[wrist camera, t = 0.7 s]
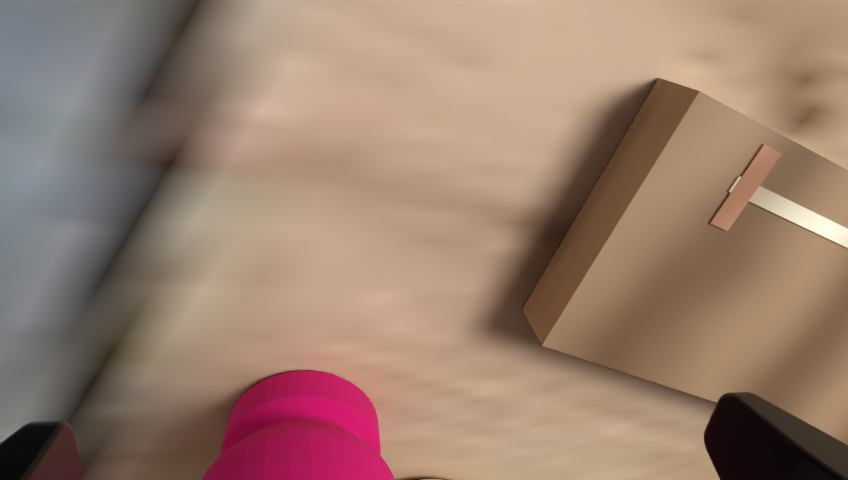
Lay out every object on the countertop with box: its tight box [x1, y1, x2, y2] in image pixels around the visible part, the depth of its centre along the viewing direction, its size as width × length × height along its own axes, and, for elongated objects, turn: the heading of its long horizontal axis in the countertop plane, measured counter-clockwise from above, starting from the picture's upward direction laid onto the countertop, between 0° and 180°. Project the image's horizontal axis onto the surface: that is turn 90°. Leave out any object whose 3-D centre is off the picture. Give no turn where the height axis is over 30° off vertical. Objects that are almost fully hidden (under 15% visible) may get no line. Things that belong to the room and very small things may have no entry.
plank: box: [522, 78, 848, 445], centre depth 24 cm, size 23×10×3 cm, turn 65°
